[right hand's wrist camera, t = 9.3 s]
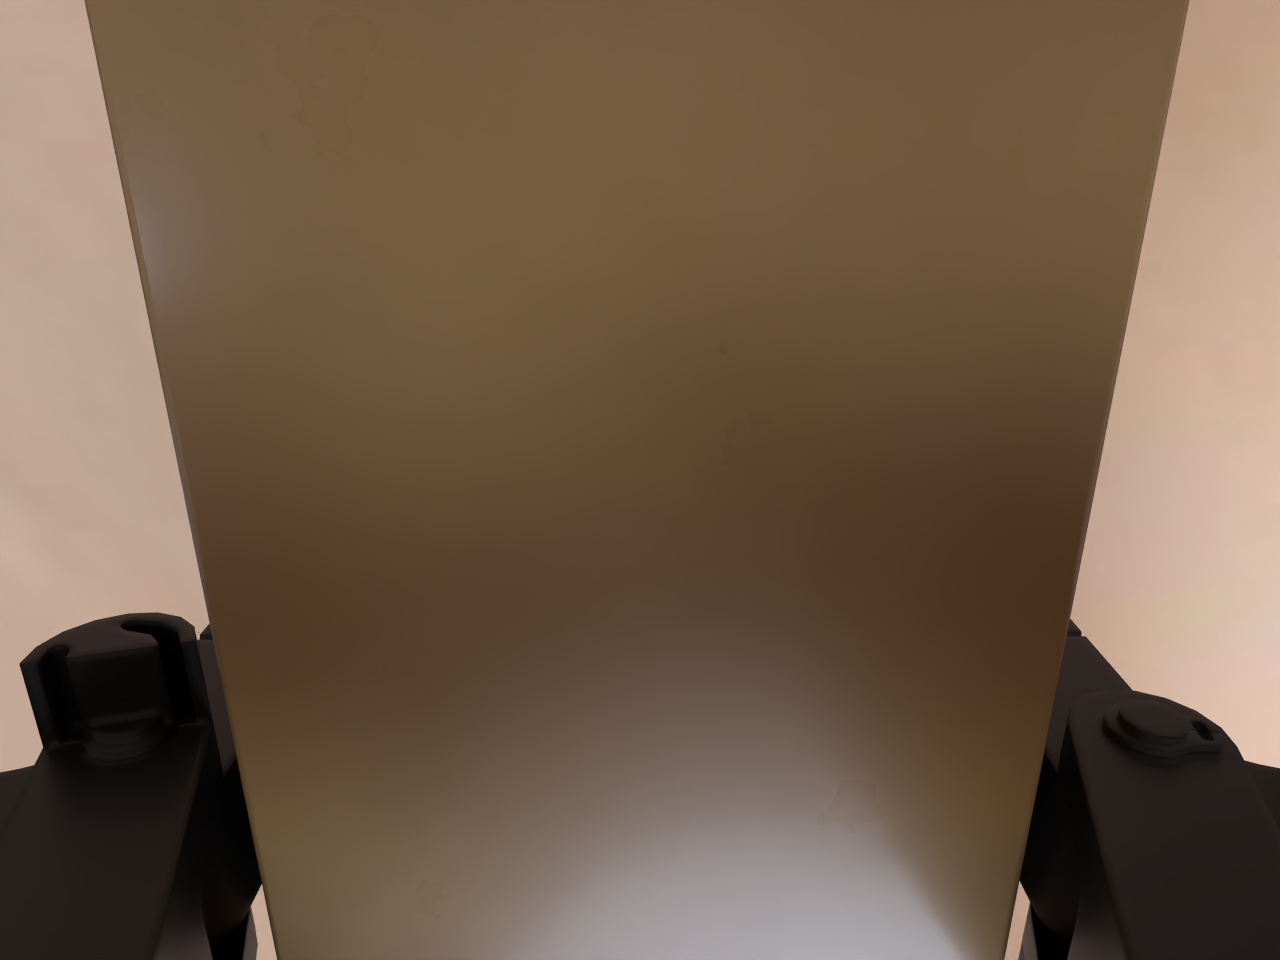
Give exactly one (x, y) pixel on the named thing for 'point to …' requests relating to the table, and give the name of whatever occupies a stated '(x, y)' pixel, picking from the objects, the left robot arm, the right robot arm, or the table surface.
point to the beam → (638, 446)
